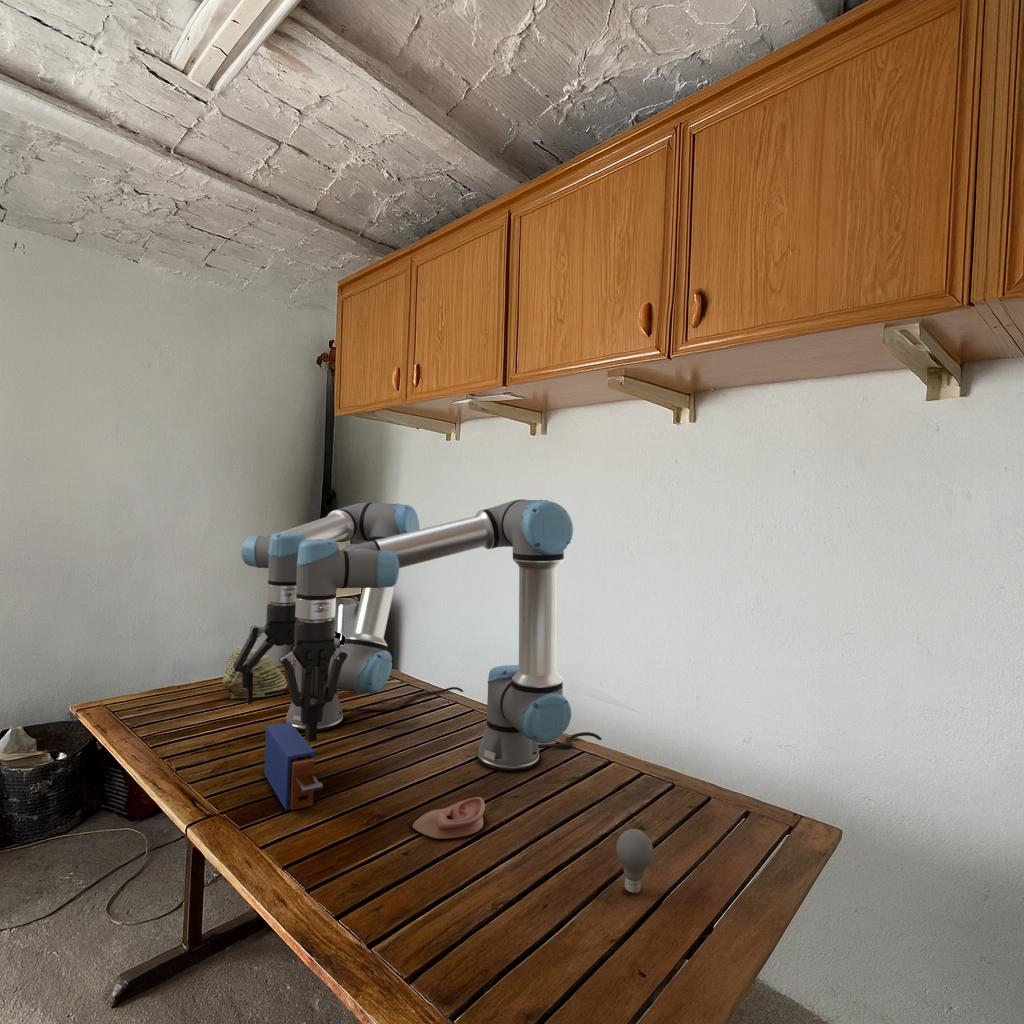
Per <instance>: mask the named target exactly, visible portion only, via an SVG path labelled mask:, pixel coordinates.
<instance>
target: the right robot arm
mask: <svg viewBox="0 0 1024 1024" xmlns="http://www.w3.org/2000/svg"><path fill="white" fill-rule="evenodd" d="M572 520H573V519H572V518H571V516H570V513H569V512H568V511H567V510H566V509H565V508H564V507H563V506H562V505H561V504H559V503H557V502H555V501H551V500H548V499H521V498H520V499H514V500H510V501H508V502H505V503H502V504H499V505H495V506H492V507H489V508H485V509H481V510H478V511H477V512H476V514H475V515H474V516H470V517H467V518H462V519H457V520H454V521H449V522H445V523H440V524H437V525H432V526H428V527H424V528H419V530H415V531H411V532H407V533H403V534H399V535H395V536H390V537H386V538H382V539H378V540H375V541H370V542H367V541H365V542H361V543H348V544H346V545H343V546H342V547H341V548H339V542H336V541H333V540H304V541H302V542H301V543H300V545H299V550H298V561H297V584H296V593H297V594H296V609H295V617H296V618H297V619H298V620H297V621H296V622H295V636H294V643H293V644H292V645H291V646H292V647H291V650H290V652H289V653H286V655H281V656H280V657H278V661H279V662H280V664H281V666H282V667H283V668H284V673H285V679H286V684H287V687H288V693H289V696H290V700H291V702H292V703H293V704H294V705H295V706H297V707H298V706H299V707H301V722H302V723H303V724H304V725H305V724H306V726H305V732H304V739H305V740H306V741H307V743H312V742H317V741H318V740H317V739H318V732H317V722H321V721H322V714H323V707H324V706H325V703H327V702H331V701H332V700H333V697H334V693H335V689H336V686H337V682H338V678H339V675H340V671H341V667H342V664H343V663H344V661H345V660H346V658H347V654H346V653H345V652H344V651H342V650H339V649H337V646H336V644H335V641H334V639H335V638H336V620H335V619H334V618H336V611H337V610H336V609H337V590H338V589H363V588H378V589H380V588H383V587H393V586H394V585H395V586H396V584H397V583H398V580H399V574H400V569H402V568H406V567H409V566H410V567H411V566H414V565H417V564H421V563H425V562H430V561H434V560H437V559H441V558H444V557H450V556H453V555H456V554H461V553H464V552H468V551H472V550H476V549H480V548H485V550H492V549H495V548H496V549H497V548H506V547H507V548H512V561H513V562H514V563H515V564H516V565H517V566H518V664H507V665H499V666H495V667H494V666H493V667H492V668H491V669H490V670H489V672H488V678H487V679H488V680H487V699H486V700H487V705H486V727H485V730H484V732H483V735H482V738H481V740H480V743H479V747H478V750H477V760H478V762H479V763H480V764H482V765H483V766H485V767H487V768H489V769H493V770H496V771H502V772H521V771H527V770H529V769H532V768H534V767H535V766H537V765H538V764H539V762H540V749H548V748H549V749H550V748H551V749H552V748H571V747H572V746H573V741H572V739H575V738H579V737H587V736H588V737H593V738H595V739H596V740H598V741H603V738H602V737H601V736H600V735H599V734H596V733H595V732H589V731H584V732H583V731H582V732H578V733H573V734H571V735H569V736H571V737H568V736H566V737H565V741H566V742H567V743H551V742H554V741H556V740H557V739H559V738H560V737H561V736H562V734H563V733H564V732H566V730H567V729H568V727H569V726H570V722H571V721H572V707H571V704H570V702H569V700H568V699H567V698H566V697H565V695H564V694H563V691H564V690H563V689H564V688H563V687H564V679H563V677H562V675H560V674H559V673H558V671H557V619H558V617H557V616H558V613H557V612H558V611H557V610H558V609H557V607H558V606H557V605H558V603H557V601H558V567H559V566H560V565H561V563H563V561H564V560H565V550H566V549H567V548H568V545H569V544H571V542H572V541H573V535H574V524H573V521H572ZM332 655H333V662H332V665H331V669H330V672H329V676H328V680H327V683H326V687H325V691H324V683H325V671H326V663H327V662H328V661H329V659H330V658H331V657H332ZM294 658H296V659H297V660H298V662H299V663H300V664H301V669H302V682H301V699H300V695H299V691H298V686H297V681H296V677H295V672H294V667H293V665H295V660H294ZM313 667H315V687H314V702H315V704H310V702H311V678H312V672H313Z"/></svg>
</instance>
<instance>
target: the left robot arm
mask: <svg viewBox="0 0 1024 1024" xmlns="http://www.w3.org/2000/svg"><path fill="white" fill-rule="evenodd" d="M415 530H420V520H419V516H418V513H417V511H416V510H415V508H414V507H412V505H409V504H404V503H403V504H402V503H399V502H397V503H385V502H383V503H382V502H359V503H358V502H357V503H355V504H350V505H347V506H344V507H340V508H338V509H334V510H332V511H330V512H329V513H328V514H327V516H325V517H322V518H318V519H315V520H313V521H310V522H307V523H303V524H301V525H297V526H296V527H292V528H289V529H287V530H284V531H280V532H276V533H273V534H270V535H267V536H264V535H263V536H262V535H252V536H251V535H250V536H249V537H247V538H246V539H245V540H244V541H243V543H242V545H241V549H240V553H241V559H242V561H243V563H244V564H245V565H246V566H249V567H254V568H257V569H268V579H267V597H266V601H267V602H268V604H267V605H266V619H265V621H266V623H265V625H264V626H256V625H251V627H250V630H249V635H248V637H247V638H246V641H245V643H244V645H243V646H242V647H243V648H242V650H241V652H240V654H239V656H238V658H237V659H236V661H235V663H234V665H233V668H234V670H235V671H236V672H241V673H242V687H243V688H247V689H246V698H245V701H246V703H247V704H248V705H252V704H253V697H252V693H253V673H252V672H251V670H252V669H253V667H254V666H255V665H256V664H257V663H258V662H259V660H260V659H261V658H262V657H263V656H264V655H265V653H266V654H267V653H268V651H269V650H270V649H272V648H273V647H274V646H277V647H282V646H293V645H294V636H295V622H296V621H297V620H298V619H297V618H296V617H295V609H296V594H297V593H296V584H297V561H298V550H299V545H300V543H301V542H302V541H304V540H333V541H336V542H337V543H341V544H342V543H347V542H349V541H354V542H355V541H359V542H370V541H375V540H378V539H382V538H386V537H390V536H395V535H399V534H403V533H407V532H411V531H415ZM395 587H396V584H395V585H394V586H393V587H383V588H380V589H378V588H362V591H361V595H360V598H359V604H358V607H357V612H356V617H355V621H354V625H353V629H352V633H351V634H350V635H348V636H347V637H345V640H344V643H343V645H340V644H341V643H340V642H341V641H340V639H339V638H337V637H335V639H334V641H335V644H336V646H337V649H339V650H342V651H344V652H345V653H346V654H347V658H346V660H345V661H344V663H343V664H342V667H341V671H340V675H339V678H338V682H337V686H336V689H335V693H334V697H333V700H332V701H331V702H327V703H325V706H324V707H323V714H322V721H321V722H317V733H318V732H325V731H329V730H332V729H335V728H337V727H339V726H340V725H342V723H343V722H344V714H343V712H344V713H346V712H389V711H395V710H398V709H400V708H402V707H404V705H406V704H408V703H409V702H411V701H412V700H413V699H415V698H418V697H421V696H424V695H425V696H426V695H435V694H440V693H444V692H448V691H452V690H457V691H459V692H460V693H464V691H465V690H463V689H462V688H460V687H458V686H450V687H447V688H444V689H440V690H433V691H426V692H425V691H423V692H420V693H415V694H414V695H412V696H410V697H409V698H408V699H406V700H404V701H403V702H402V703H400V704H398V705H396V706H393V707H387V708H386V707H385V708H384V707H383V708H376V707H375V708H372V707H370V708H367V707H366V708H342V706H341V702H340V699H339V695H338V690H339V691H346V692H351V693H357V694H361V695H362V694H369V695H372V694H376V693H378V692H380V691H381V690H382V689H383V687H385V685H386V683H387V682H388V680H389V678H390V675H391V673H392V668H393V662H392V661H393V656H392V654H391V653H390V652H389V651H388V643H387V642H386V640H385V634H386V629H387V625H388V620H389V614H390V611H391V606H392V601H393V597H394V592H395ZM262 634H265V636H266V638H265V639H264V640H263V641H262V643H261V645H260V646H259V647H258V650H257V651H256V652H255V653H254V654H253V655H252V656H251V658H250V659H249V660H248V661H247V662H246V663H245V661H246V659H247V657H248V655H249V653H250V652H251V650H252V649H254V646H255V645H256V642H257V640H258V638H260V637H261V635H262ZM332 662H333V655H332V657H331V658H330V659H329V661H328V662H327V663H326V671H325V683H324V691H325V687H326V683H327V680H328V676H329V672H330V669H331V665H332ZM244 663H245V664H244ZM243 664H244V666H243ZM293 669H294V672H295V677H296V681H297V686H298V691H299V695H300V699H301V682H302V669H301V664H300V663H299V662H298V660H297V659H296V658H295V657H294V667H293ZM314 687H315V667H313V672H312V678H311V702H310V704H315V702H314ZM288 722H291V724H292V725H293V726H294V727H295V728H296V730H297V731H298V732H301V733H305V726H306V724H305V725H304V724H303V723H302V722H301V707H299V706H298V707H297V706H295V705H294V704H293V703H292V701H291V702H290V704H289V708H288V711H287V713H286V715H285V723H288Z"/></svg>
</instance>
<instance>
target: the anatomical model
mask: <svg viewBox="0 0 1024 1024" xmlns="http://www.w3.org/2000/svg"><path fill="white" fill-rule="evenodd" d="M485 809H486V806H485V801H484V798H482V797H480V796H479V797H478V796H476V797H470V798H467V799H463V800H461V801H458V802H456V803H454V804H451V805H449V806H447V807H444V808H440V809H434V810H430V811H428V812H426V813H424V814H422V815H421V816H420V817H419V818H417V819H416V820H415V821H414V822H413V824H412V828H413V830H415V831H417V832H419V833H421V834H422V835H424V836H427V837H429V838H432V839H437V840H440V839H441V840H445V839H455V838H461V837H466V836H470V835H472V834H475V833H477V832H479V831H480V830H482V828H483V827H484V818H483V817H484V816H483V815H484V813H485Z"/></svg>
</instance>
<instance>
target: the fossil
mask: <svg viewBox="0 0 1024 1024" xmlns="http://www.w3.org/2000/svg"><path fill="white" fill-rule="evenodd" d="M243 647H244V646H238V647H237V648H236V649H235V650H233V651H232V653H231V656H230V657H229V659H228V660H227V663H226V666H225V668H224V671H223V675H222V676H223V677H222V685H223V687H224V688H225V690H226V691H228V693H229V698H230V699H246V689H247V688H243V687H242V673H241V672H236V671H235V670H234V668H233V665H234V663H235V661H236V659H237V658H238V656H239V654H240V652H241V650H242V648H243ZM258 648H259V647H258ZM258 648H252V650H251V652H250V653H249V655H248V657H247V659H246V661H245V663H246V662H247V661H248V660H249V659H250V658H251V656H252V655H253V654H254V653H255V652H256V651H257V650H258ZM245 663H244V664H245ZM244 664H243V666H244ZM251 672H252V673H253V693H252V698H264V697H271V696H275V695H281V694H284V693H285V691H286V689H287V687H288V684H287V679H286V676H284V674H283V673H282V672H281V669H279V668H278V667H277V665H276V663H275V662H274V660H273V659H272V658H271V657H270V656H269V655H268V654H267V652H266V653H265V655H264V656H263V657H262V658H261V659H260V660H259V662H258V663H257V664H256V665H255V666H254V667H253V669H252V670H251Z"/></svg>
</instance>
